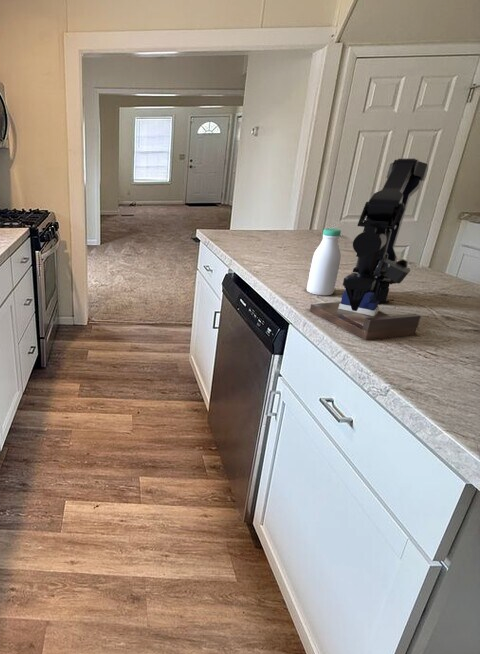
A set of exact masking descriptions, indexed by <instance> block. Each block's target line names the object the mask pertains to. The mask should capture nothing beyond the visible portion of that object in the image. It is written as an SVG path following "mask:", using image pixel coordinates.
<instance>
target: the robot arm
mask: <svg viewBox="0 0 480 654" xmlns="http://www.w3.org/2000/svg"><path fill="white" fill-rule="evenodd" d="M428 172H429V164H428V163H426V162H423V161H419V159H416V158H413V157H412V158H397V159H394V161H393V162H391V163H390V164H389V167H388V170H387V174H386V181H385V183H384V184H383V186H382V189H381V190H379V191H376V192H374V193H373V194H372V195H371V197H370V198H369V200H368V201H366V202H365V204H364V206H363V209H362V212H361V214H360V217H359V220H358V222H357V227H361V228H363V230H362V232H361V233H359V234H357V235H356V236H355V238H354V239H353V241H352V248H353V251H354V252H355V253H356V256H355V257H357V260H356V264H355V267H353V269H352V272H351V273H349V274H348V275H346V276H345V277H343V281H342V286H343V288H344V290H346V292H347V295H348V298H349V301H350V305H351V308H352V310H353V311H357V310H358V308H359V306H360V304H361V302H362V299H363V297H364V295H365V294H366V293H368V292H372V293H375V294H374V297H373V299H374V300H379V303H378V304H383V303H390V299H388V295H389V292H390V285H393V284H394V285H396V284H401V283H402V282H403V281H404V279H405V278H406V277H407V276H408V274H410V272H411V268H410V267H408V265H409V261H407V260H406V259H403V258H402V259H399V260H398V256H397V253H396V250H395V247H396V243H397V239H398V237H399V233H400V230H401V227H402V224H403V220H404V217H405V214H406V211H407V207H408V204H409V201H410V198H411V197H412V196H413V195H414V194H415V193H416V192H417V191H419V189H420V188H421V185H422V183H423V181H424V182H425V180H426V178H427V175H428Z"/></svg>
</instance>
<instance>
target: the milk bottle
mask: <svg viewBox="0 0 480 654" xmlns="http://www.w3.org/2000/svg"><path fill="white" fill-rule="evenodd" d="M341 232H342V230H341V229H338V228H324V229H323V232H322V240H321V242H320V244H319V245H318V247H317V248H316V249H315V251H314V253H313V255H312V260H311V264H310V269H309V273H308V279H307V284H306V291H307V292H308V293H310V294H313V295H316V296H331V295H333V293H334V292H335V287H336V283H337V280H338V278H337V277H338V273H339V268H340V264H341V257H342V255H341V250H340V246H339V238H340V237H341Z"/></svg>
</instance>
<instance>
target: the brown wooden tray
mask: <svg viewBox="0 0 480 654" xmlns="http://www.w3.org/2000/svg"><path fill="white" fill-rule="evenodd" d="M340 303H341V301H334V302H321V303H320V302H319V303H311V304H310V308H309V311H310V312H312V313H313V314H315V315H317V316H319V317H321V318H322V319H325V320H326V321H329V322H330V323H332V324H334V325H336V326H338V327H340V328H342V329H343V330H345V331H347V332H349V333H351V334H353V335H355V336H357V337H359V338H361V339H362V340H364V341H369V340H376V339H386V338H387V339H388V338H396V337H397V338H398V337H405V336H416V335H417V330H418V327H419V324H420V321H421V317H422V315H420V314H417V313H407V314H397V315H395V314H394V315H390V314H387V313H384V312H382V311H380V310H378V312H377V314H376V315H375V316H370V315H366V314H361V313H356V312H352V311H347V310H342V309H339V304H340Z"/></svg>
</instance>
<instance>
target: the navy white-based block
mask: <svg viewBox="0 0 480 654" xmlns="http://www.w3.org/2000/svg"><path fill="white" fill-rule="evenodd" d="M374 294H375V293H372V292H368V293H366V294H365V295H364V297H363V299H362V302H361V304H360V306H359V308H358V310H357V311H353V310H352V308H351V305H350V301H349V298H348V295H347V292H346V289H344V290H343V291H342V296H341V300H340V302H341V303H340V304H339V309H342V310H347V311H352V312H356V313H361V314H366V315H370V316H375V315H376V314H377V312H378V311H380V306H379V304H380V303H379V300H374V299H373V297H374Z"/></svg>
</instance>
